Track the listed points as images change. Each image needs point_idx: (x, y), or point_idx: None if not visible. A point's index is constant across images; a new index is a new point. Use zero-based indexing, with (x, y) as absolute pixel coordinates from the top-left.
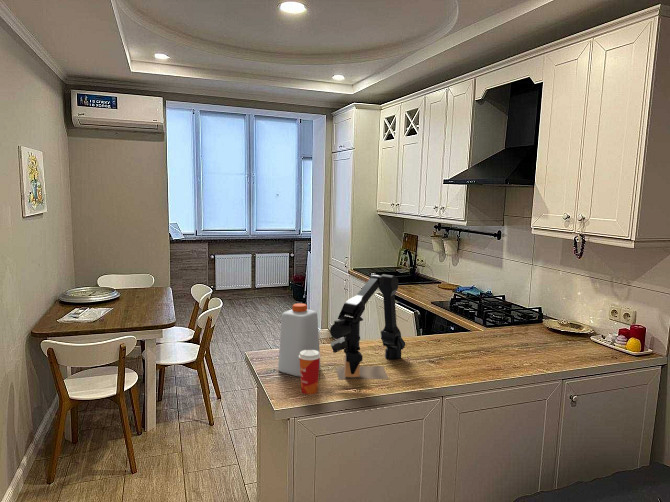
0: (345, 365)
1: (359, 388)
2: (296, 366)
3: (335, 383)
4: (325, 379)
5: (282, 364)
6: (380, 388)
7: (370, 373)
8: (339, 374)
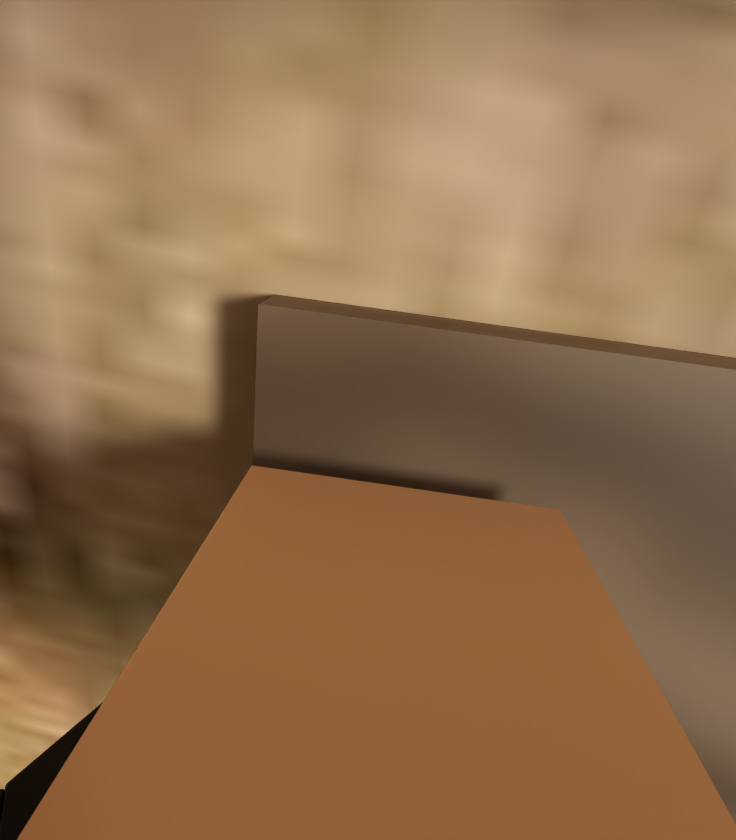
0: (113, 708)
1: (33, 558)
2: None
3: (228, 221)
4: (488, 2)
5: None
6: None
7: None
8: (534, 385)
